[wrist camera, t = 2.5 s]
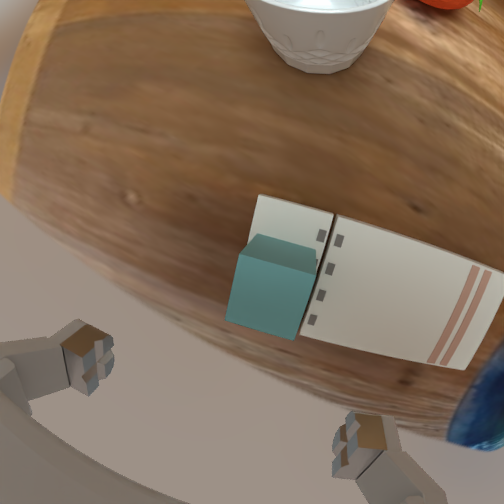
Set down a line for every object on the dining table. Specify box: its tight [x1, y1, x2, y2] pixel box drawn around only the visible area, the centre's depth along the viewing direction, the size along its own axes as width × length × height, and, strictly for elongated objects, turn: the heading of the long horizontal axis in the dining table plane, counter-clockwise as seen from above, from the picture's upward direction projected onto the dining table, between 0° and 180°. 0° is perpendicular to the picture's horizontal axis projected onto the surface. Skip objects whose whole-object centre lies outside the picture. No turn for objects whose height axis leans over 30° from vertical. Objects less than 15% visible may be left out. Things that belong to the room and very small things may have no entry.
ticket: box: [300, 214, 504, 370], centre depth 19 cm, size 16×9×1 cm, turn 77°
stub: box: [225, 194, 334, 341], centre depth 18 cm, size 5×9×6 cm, turn 167°
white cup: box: [244, 0, 394, 74], centre depth 12 cm, size 8×8×10 cm
